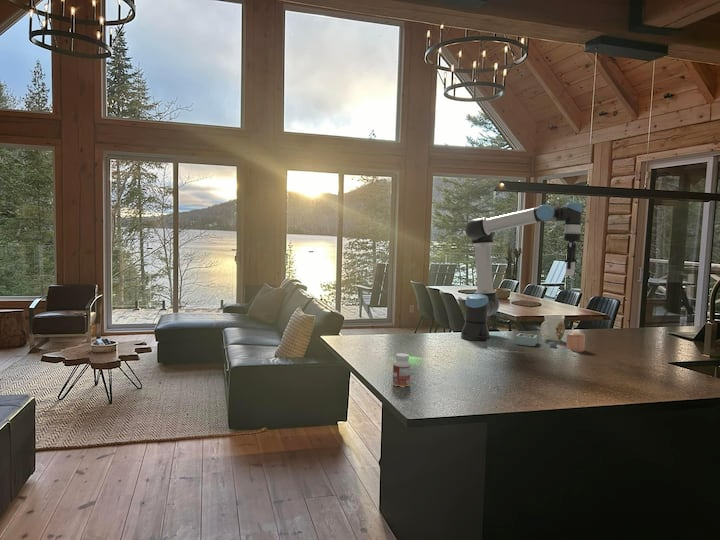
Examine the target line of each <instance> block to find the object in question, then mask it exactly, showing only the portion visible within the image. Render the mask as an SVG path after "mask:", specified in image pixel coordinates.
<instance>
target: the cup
mask: <svg viewBox="0 0 720 540" xmlns="http://www.w3.org/2000/svg"><path fill="white" fill-rule="evenodd" d="M566 333H567V334H566V345H565V346H566V349H569V350H570V351H571V352H581V353H582V352H585V342H586V341H585V340H586V339H585V338H586V336H585V334H584V333H582V332H573V331H572V332H566Z"/></svg>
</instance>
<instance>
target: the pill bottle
mask: <svg viewBox="0 0 720 540" xmlns="http://www.w3.org/2000/svg"><path fill="white" fill-rule="evenodd" d="M395 359H396V360H394V361H393V365H392V367H393V368H392V385H393V386H394V385H395V386H394V387H396V386H408V387H410V386H411V361H410V360H409V359H410V354H408V353H403V352H402V353H401V352H399V353H396V354H395Z"/></svg>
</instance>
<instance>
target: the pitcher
mask: <svg viewBox="0 0 720 540" xmlns="http://www.w3.org/2000/svg"><path fill="white" fill-rule="evenodd" d="M565 316H566V315H565V314H551V315H550V314H549V315H544V321H543V322H542V323H541V324H540V333H541V335H542V336H543V337H544V339H545V340H546V341H550V342H561V340H563V338H564V336H565V331H566V330H565V329H566V327H565V322H564V321H565V319H566V317H565Z"/></svg>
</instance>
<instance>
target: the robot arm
mask: <svg viewBox="0 0 720 540" xmlns="http://www.w3.org/2000/svg"><path fill="white" fill-rule="evenodd" d="M582 207H583V205H582V203H580V202H566V204H565V206H552V205H550V204H542V205H539V206H536V207H532V208H528V209H527V208H526V209H523V210H519V211H515V212H510V213H506V214H502V215H499V216H493V217H490V218H488V217H486V216H484V217H481V218H480V217H478V218H473V219H471V220H468V222H467V223H466V225H465V227H464V232H465V234H466V236H467V237H468V238H469V239H470V240H471V245H472V246H473V247H474V252H475V253H474V255H475V256H474V257H475V272H476V273H475V275H476V291H474V293H473V294H469V295H467V296H466V298H465V310H464V311H465V314H464V324H463V327H462V330H461V333H460V338H462V339H464V340H467V341H468V340H469V341H475V342H476V341H478V342H480V341H481V342H484V341H487V340H490V339H491V337H490V336H491V335H490V331H489V328H488V317H491V316H493V315H495V314H496V313H497V312H498V310H499V308H500V302H499V299H498V298H497V292H496V291H495V290H494V289H493V288H494V284H493V267H492V250H491V249H492V247H491V246H492V245H493V244H494V237H495V234H496V232H499V231H504V230H508V229H513V228H517V227H522V226H527V225H531V224H535V223H540V222H541V223H542V222H548V223H549V222H564V230H563V231H564V235H563V237H564V239H563V241H565V242H567V245H566V248H567V249H566V259H565V260H564V263H566V265H565V276H567V277H569V276H570V277H572V275H575V263H576V262H577V259H576V250H577V244H576V242H580V241H581V230H582V228H583V227H582V226H581V225H582V217H583V215H582V214H583V209H582Z"/></svg>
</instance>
